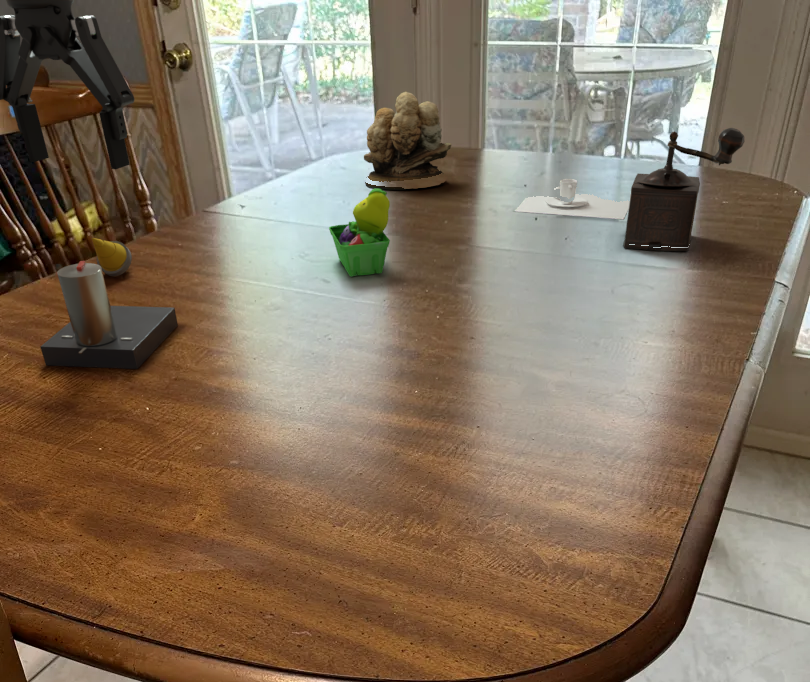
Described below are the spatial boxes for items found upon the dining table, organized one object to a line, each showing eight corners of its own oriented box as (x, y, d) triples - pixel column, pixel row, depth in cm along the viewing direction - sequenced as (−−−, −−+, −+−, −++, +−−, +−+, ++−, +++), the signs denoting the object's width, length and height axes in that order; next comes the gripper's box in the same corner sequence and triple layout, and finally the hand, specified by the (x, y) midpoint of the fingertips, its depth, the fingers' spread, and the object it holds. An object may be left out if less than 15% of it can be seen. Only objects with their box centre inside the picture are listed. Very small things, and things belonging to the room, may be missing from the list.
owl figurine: (449, 175, 177) (450, 85, 166) (452, 189, 167) (453, 94, 157) (365, 177, 177) (361, 87, 167) (363, 191, 167) (358, 97, 157)
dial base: (39, 371, 101) (33, 350, 100) (94, 322, 114) (89, 303, 112) (132, 374, 100) (127, 354, 98) (178, 325, 112) (174, 306, 111)
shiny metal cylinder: (114, 344, 101) (96, 273, 96) (72, 347, 101) (52, 275, 95) (120, 329, 105) (103, 259, 100) (80, 331, 105) (61, 261, 99)
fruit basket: (329, 257, 134) (324, 184, 127) (383, 252, 136) (380, 179, 129) (343, 280, 125) (338, 202, 118) (400, 274, 127) (398, 197, 120)
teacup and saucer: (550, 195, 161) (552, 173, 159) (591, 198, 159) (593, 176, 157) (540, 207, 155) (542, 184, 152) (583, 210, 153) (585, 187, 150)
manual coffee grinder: (621, 249, 134) (637, 127, 123) (627, 230, 142) (643, 114, 132) (721, 257, 130) (747, 131, 119) (722, 236, 138) (746, 117, 128)
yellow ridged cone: (145, 272, 132) (114, 243, 122) (117, 290, 132) (84, 261, 122) (131, 246, 132) (99, 214, 123) (103, 263, 133) (69, 233, 123)
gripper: (-72, -31, 97) (-14, 162, 110) (95, -33, 89) (137, 176, 102) (-23, -34, 103) (27, 151, 116) (139, -36, 95) (174, 163, 107)
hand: (79, 163), depth 109 cm, fingers open, 13 cm apart
